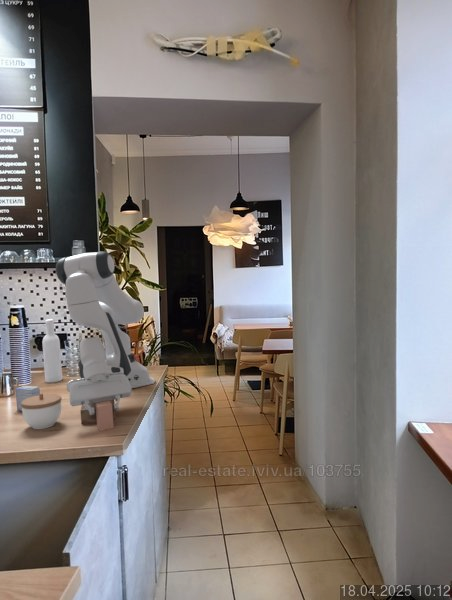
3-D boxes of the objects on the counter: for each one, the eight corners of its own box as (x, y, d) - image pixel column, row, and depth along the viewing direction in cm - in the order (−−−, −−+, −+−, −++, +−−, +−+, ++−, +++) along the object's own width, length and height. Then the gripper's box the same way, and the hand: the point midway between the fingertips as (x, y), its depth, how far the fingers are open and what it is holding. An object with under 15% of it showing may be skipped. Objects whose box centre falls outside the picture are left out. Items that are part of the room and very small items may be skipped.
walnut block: (115, 410, 157) (114, 397, 157) (114, 420, 147) (113, 406, 146) (84, 414, 155) (83, 401, 154) (81, 424, 144) (80, 410, 144)
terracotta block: (110, 423, 143) (109, 400, 142) (113, 428, 139) (112, 404, 138) (97, 426, 141) (95, 403, 140) (99, 430, 137) (97, 406, 136)
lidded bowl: (22, 435, 136) (19, 401, 135) (23, 423, 148) (21, 392, 147) (64, 427, 141) (61, 395, 140) (62, 416, 152) (60, 386, 152)
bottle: (41, 381, 205) (37, 320, 203) (56, 377, 212) (51, 318, 210) (51, 383, 201) (46, 320, 199) (65, 379, 207) (61, 318, 205)
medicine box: (41, 408, 163) (40, 386, 163) (33, 412, 159) (31, 389, 158) (25, 407, 166) (24, 385, 165) (16, 410, 162) (14, 388, 161)
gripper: (66, 375, 140) (71, 412, 132) (127, 367, 149) (136, 401, 141) (65, 386, 145) (70, 422, 137) (125, 376, 154) (133, 410, 146)
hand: (104, 411), depth 139 cm, fingers open, 6 cm apart
